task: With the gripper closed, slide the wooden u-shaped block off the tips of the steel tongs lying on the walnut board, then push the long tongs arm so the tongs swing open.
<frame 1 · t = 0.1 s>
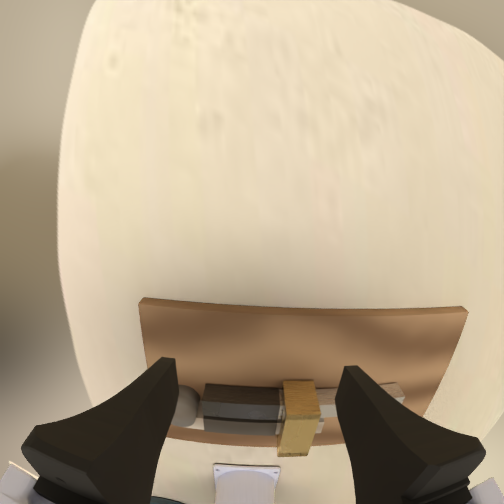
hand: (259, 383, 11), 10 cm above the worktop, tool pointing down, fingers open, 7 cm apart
wooden u-shaped block: (295, 420, 20), point 3 cm above the worktop, slide at 0.0 cm
tong board: (310, 386, 23), on the worktop
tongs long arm: (308, 403, 21), point 2 cm above the worktop, hinge at 0.0°
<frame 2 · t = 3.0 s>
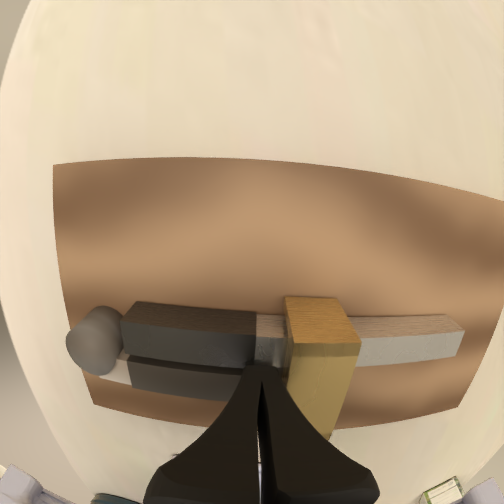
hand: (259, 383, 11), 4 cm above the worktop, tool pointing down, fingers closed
wooden u-shaped block: (308, 372, 12), point 3 cm above the worktop, slide at 1.0 cm, touching gripper
syrup box: (436, 488, 24), on the worktop
tong board: (311, 320, 15), on the worktop
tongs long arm: (309, 341, 13), point 2 cm above the worktop, hinge at 0.0°
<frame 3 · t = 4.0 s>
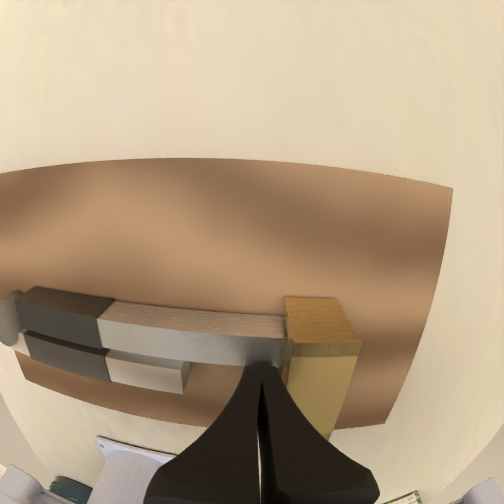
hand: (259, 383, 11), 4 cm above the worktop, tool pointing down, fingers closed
wooden u-shaped block: (308, 372, 12), point 3 cm above the worktop, slide at 8.3 cm, touching gripper
syrup box: (396, 502, 24), on the worktop
tong board: (175, 312, 15), on the worktop
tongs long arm: (153, 330, 13), point 2 cm above the worktop, hinge at 0.0°
canister: (92, 497, 25), on the worktop
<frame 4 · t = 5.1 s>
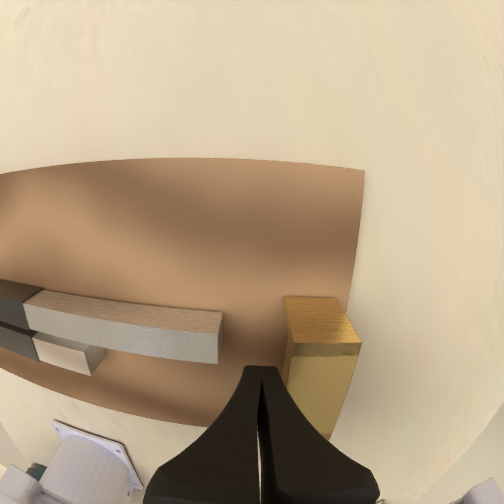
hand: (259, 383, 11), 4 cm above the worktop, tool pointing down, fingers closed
wooden u-shaped block: (308, 372, 12), point 3 cm above the worktop, slide at 13.6 cm, touching gripper
tong board: (93, 302, 15), on the worktop
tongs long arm: (66, 315, 13), point 2 cm above the worktop, hinge at 0.0°
canister: (65, 486, 25), on the worktop
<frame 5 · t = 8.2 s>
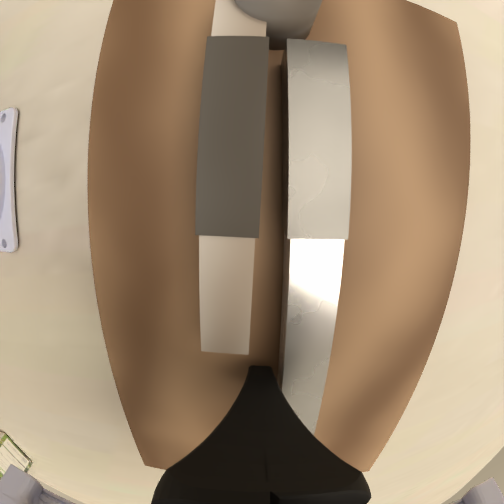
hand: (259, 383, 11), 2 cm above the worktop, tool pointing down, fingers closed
syrup box: (11, 444, 20), on the worktop
tong board: (280, 290, 12), on the worktop
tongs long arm: (307, 303, 10), point 2 cm above the worktop, hinge at 3.0°, touching gripper
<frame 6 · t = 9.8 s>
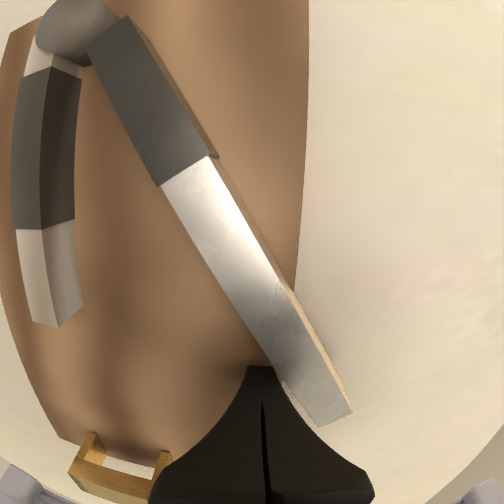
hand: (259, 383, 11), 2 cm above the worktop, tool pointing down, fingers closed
wooden u-shaped block: (123, 474, 12), point 3 cm above the worktop, slide at 13.7 cm
tong board: (113, 278, 12), on the worktop
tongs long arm: (230, 238, 9), point 2 cm above the worktop, hinge at 32.4°, touching gripper
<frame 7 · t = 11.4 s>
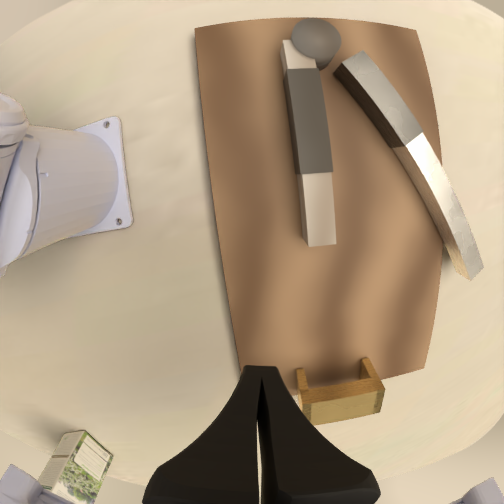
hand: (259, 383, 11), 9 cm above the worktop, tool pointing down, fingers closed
wooden u-shaped block: (338, 391, 19), point 3 cm above the worktop, slide at 13.7 cm
syrup box: (89, 443, 27), on the worktop
tong board: (339, 215, 19), on the worktop
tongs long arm: (426, 173, 15), point 2 cm above the worktop, hinge at 32.5°
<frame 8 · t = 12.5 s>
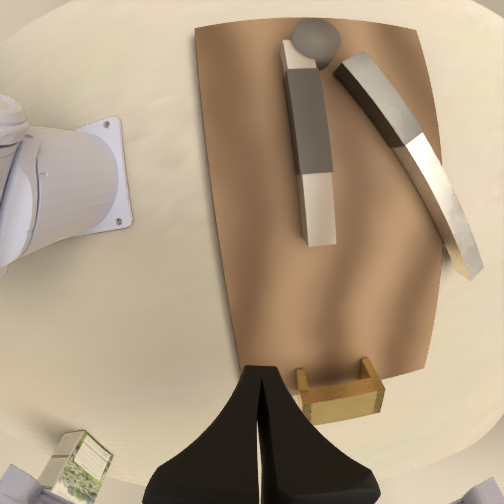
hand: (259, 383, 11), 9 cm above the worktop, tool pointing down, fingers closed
wooden u-shaped block: (338, 391, 19), point 3 cm above the worktop, slide at 13.7 cm
syrup box: (89, 443, 27), on the worktop
tong board: (339, 215, 19), on the worktop
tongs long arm: (426, 173, 15), point 2 cm above the worktop, hinge at 32.5°
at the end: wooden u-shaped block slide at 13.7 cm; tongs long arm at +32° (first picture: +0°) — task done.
